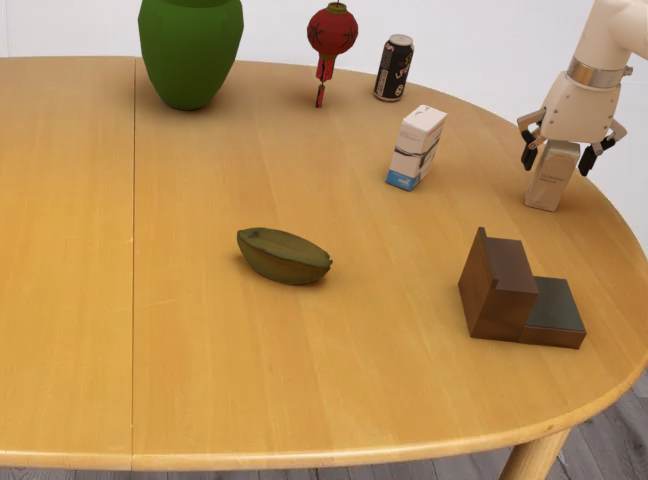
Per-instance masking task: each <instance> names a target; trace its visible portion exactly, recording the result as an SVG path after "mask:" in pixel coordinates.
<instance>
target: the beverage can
mask: <svg viewBox="0 0 648 480" xmlns="http://www.w3.org/2000/svg"><path fill="white" fill-rule="evenodd" d="M414 52H415V46H414V39H413V38H412V37H411V36H409V35H407V34H401V33H395V34H392V35H390V36H389V37H388V40H386V42H385V43H384V45H383V50H382V54H381V58H380V62H379V66H378V71H377V75H376V78H375V84H374V87H373V93H374V95H375V96H376V97H377V98H378V99H380V100H382V101H386V102H394V101H398V100H400V99H401V98H402V97H403V95H404V91H405V88H406V84H407V81H408V76H409V72H410V69H411V64H412V60H413V57H414Z"/></svg>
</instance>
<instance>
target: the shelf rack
mask: <svg viewBox="0 0 648 480" xmlns="http://www.w3.org/2000/svg"><path fill="white" fill-rule="evenodd" d="M528 259H529V258H528V256H527V253H526V250H525V247H524V244H523V241H522V240H520V239H513V238H512V239H511V238H504V237H503V238H502V237H492V236H487V232H486V228H485V226H478V228H477V230H476V233H475V235H474V239H473V241H472V245H471V247H470V250H469V252H468V255H467V258H466V261H465V263H464V265H463V269H462V271H461V274H460V277H459V278H458V279H459V280H458V282H457V287H458V291H459V295H460V300H461V305H462V308H463V312H464V317H465V322H466V325H467V329H468V333H469V338H472V339H473V338H474V339H481V340H493V341H501V342H510V343H518V344H527V345H537V346H547V347H557V348H565V349H574V350H580V348H581V346H582V344H583V342H584V340H585V338H586V337H587V334H588V332H587V329H586V327H585V325H584V322H583V319H582V317H581V316H582V315H581V314H580V311H579V308H578V306H577V303H576V301H575V298H574V295H573V292H572V289H571V287H570V285H569V282H568V279H567V278H559V277H550V276H542V275H541V276H540V275H534V274H533V272H532V268H531V266H530V262H529V260H528Z"/></svg>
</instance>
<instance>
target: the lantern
mask: <svg viewBox="0 0 648 480" xmlns="http://www.w3.org/2000/svg"><path fill="white" fill-rule="evenodd" d="M358 36H359V24H358V22H357V20H356V18H355V15H354V14H353V13H351V12H350V11H348V8H347V5H346V4H345V3H343V2H341V1H340V0H337V1H332V2H328V4H327V6H326V7H324V8H321V9H318V11H316V13H315V14H313V15H312V16H311V18H310V19H309V22H308V23H307V26H306V37H307V42H308V43H309V44H310V46H311V48H312V50H314V51H316V52H317V54H318V61H317V66H316V71H315V78H316V79H317V80H319V81H320V82H321V83H320V84H319V85H318V89H317V95H316V98H315V99H316V100H315V104H314V107H315V108H317V109H320V108H322V106H323V100H324V96H325V95H324V94H325V89H326V86H325V84H324V83H326V82H328V81H330V80H332V79H333V74H334V69H335V65H336V61H337V58H338V56H339V55H343V54H344V53H345V54H346V53H347V52H348V51H349V50H350V49H351V48H353V47H354V44H355V43H356V41H357V39H358Z"/></svg>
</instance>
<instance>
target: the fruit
mask: <svg viewBox="0 0 648 480" xmlns="http://www.w3.org/2000/svg"><path fill="white" fill-rule="evenodd" d="M236 243H237V246H238V248H239V251H240V252H241V254H242V256H243V258H244V259H245V260H246V261H247V263H248V265H250V267H252V268H253V270H255V272H257V273H259V274H260V275H262V276H263V277H266V278H267V279H270V280H271V281H274V282H277V283H281V284H285V285H293V286H295V285H302V284H307V283H311V282H313V281H316V280H318V279H321V278H324V276H325V275H327V273H329V271H330V270H331V265H333V263H334V262H333V259H330V258H331V256H330V254H329V253H328V252H327V251H326V250H324V249H323V248H321V247H320V246H319V245H317V244H315V243H314V242H312V241H310V240H308V239H306V238H303V237H301V236H298V235H297V234H294V233H291V232H289V231H284V230H281V229H275V228H268V227H262V226H261V227H259V226H258V227H250V228H245V229H239V230H237V231H236Z"/></svg>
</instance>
